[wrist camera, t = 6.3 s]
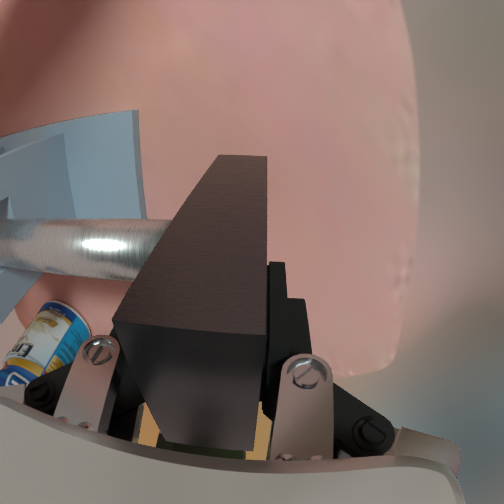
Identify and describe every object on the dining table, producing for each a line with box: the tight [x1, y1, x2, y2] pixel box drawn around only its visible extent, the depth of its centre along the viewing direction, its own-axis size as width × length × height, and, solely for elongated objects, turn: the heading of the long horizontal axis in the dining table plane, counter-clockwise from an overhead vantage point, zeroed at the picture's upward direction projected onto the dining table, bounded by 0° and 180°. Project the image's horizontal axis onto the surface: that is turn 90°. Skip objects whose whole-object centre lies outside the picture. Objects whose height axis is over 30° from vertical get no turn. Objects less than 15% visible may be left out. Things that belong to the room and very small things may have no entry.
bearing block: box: [0, 110, 147, 324], centre depth 18 cm, size 22×12×14 cm, turn 88°
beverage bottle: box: [0, 301, 91, 387], centre depth 25 cm, size 8×8×20 cm
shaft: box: [0, 155, 267, 451], centre depth 13 cm, size 18×6×14 cm, turn 88°
